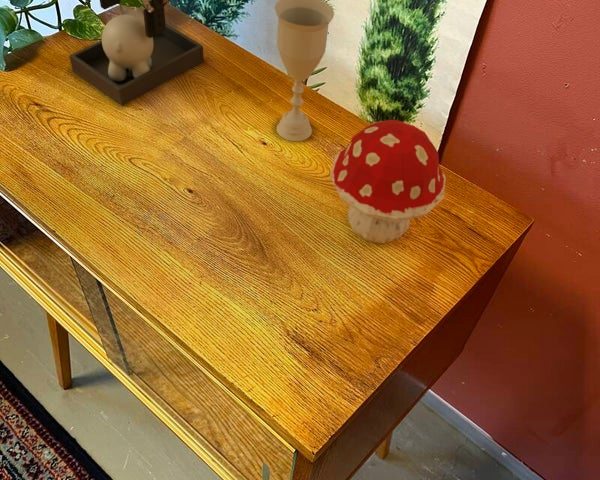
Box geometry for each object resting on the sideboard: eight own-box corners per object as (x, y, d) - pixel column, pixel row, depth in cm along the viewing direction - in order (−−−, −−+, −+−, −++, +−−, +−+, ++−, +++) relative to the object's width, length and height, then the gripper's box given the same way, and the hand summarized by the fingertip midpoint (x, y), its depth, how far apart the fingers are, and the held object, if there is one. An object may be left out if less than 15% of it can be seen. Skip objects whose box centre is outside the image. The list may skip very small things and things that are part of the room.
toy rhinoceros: (164, 42, 105) (159, -10, 98) (152, 88, 98) (146, 35, 91) (118, 38, 104) (110, -15, 98) (102, 84, 97) (92, 30, 90)
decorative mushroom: (317, 187, 88) (330, 91, 76) (419, 187, 90) (447, 93, 78) (327, 267, 80) (344, 174, 68) (440, 267, 82) (475, 175, 70)
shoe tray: (121, 105, 95) (119, 89, 93) (72, 71, 99) (68, 55, 97) (203, 61, 103) (203, 45, 101) (155, 31, 107) (153, 15, 105)
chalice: (262, 137, 94) (267, 17, 79) (277, 109, 98) (284, -10, 83) (312, 150, 93) (325, 31, 78) (325, 121, 97) (340, 3, 82)
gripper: (47, -128, 83) (73, 4, 96) (139, -77, 77) (153, 55, 90) (95, -142, 87) (114, -14, 100) (187, -95, 81) (194, 35, 94)
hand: (133, 19), depth 95 cm, fingers open, 9 cm apart
